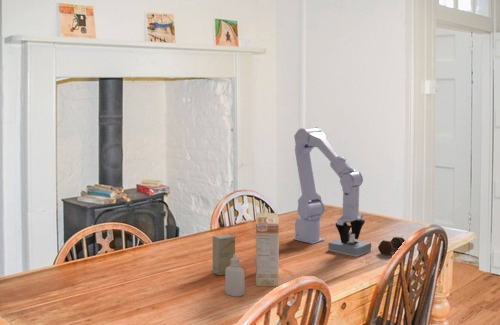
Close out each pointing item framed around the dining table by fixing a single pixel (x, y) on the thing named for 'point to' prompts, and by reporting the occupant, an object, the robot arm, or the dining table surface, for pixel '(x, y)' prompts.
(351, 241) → the pin
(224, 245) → the skincare box
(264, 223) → the coffeecake box
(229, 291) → the eye dropper bottle
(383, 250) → the bolt
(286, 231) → the dining table surface
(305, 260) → the dining table surface
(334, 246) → the hole block
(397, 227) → the dining table surface
